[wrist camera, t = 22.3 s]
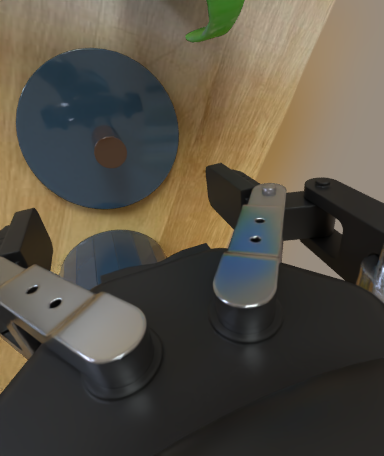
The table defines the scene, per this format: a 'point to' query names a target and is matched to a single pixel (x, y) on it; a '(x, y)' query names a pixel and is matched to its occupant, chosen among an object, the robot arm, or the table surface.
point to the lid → (97, 128)
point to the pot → (109, 256)
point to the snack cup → (217, 19)
